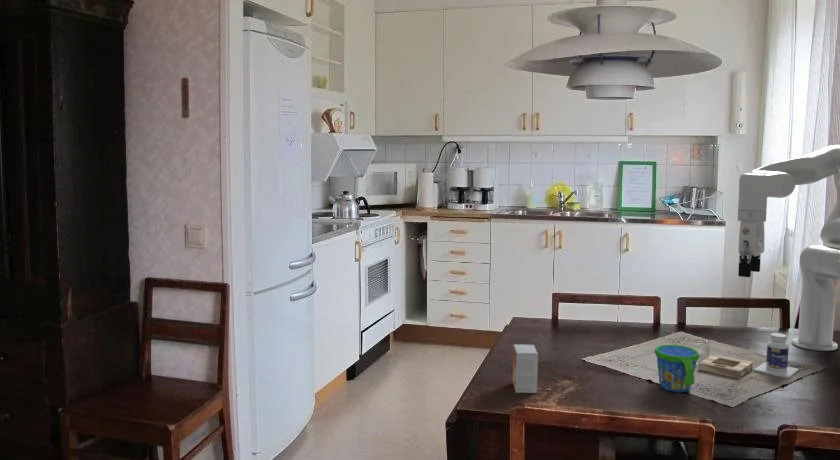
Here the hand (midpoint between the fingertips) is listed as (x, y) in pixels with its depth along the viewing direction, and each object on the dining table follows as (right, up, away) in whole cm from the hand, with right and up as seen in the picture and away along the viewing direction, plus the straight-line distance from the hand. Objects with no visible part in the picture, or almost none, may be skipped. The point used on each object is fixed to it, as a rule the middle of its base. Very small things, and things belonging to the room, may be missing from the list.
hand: (749, 273), depth 215 cm
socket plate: (-11, -26, -9) cm, 30 cm away
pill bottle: (+3, -26, -10) cm, 28 cm away
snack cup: (-30, -28, -25) cm, 48 cm away
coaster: (+3, -26, -10) cm, 29 cm away
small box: (-69, -28, -25) cm, 79 cm away
